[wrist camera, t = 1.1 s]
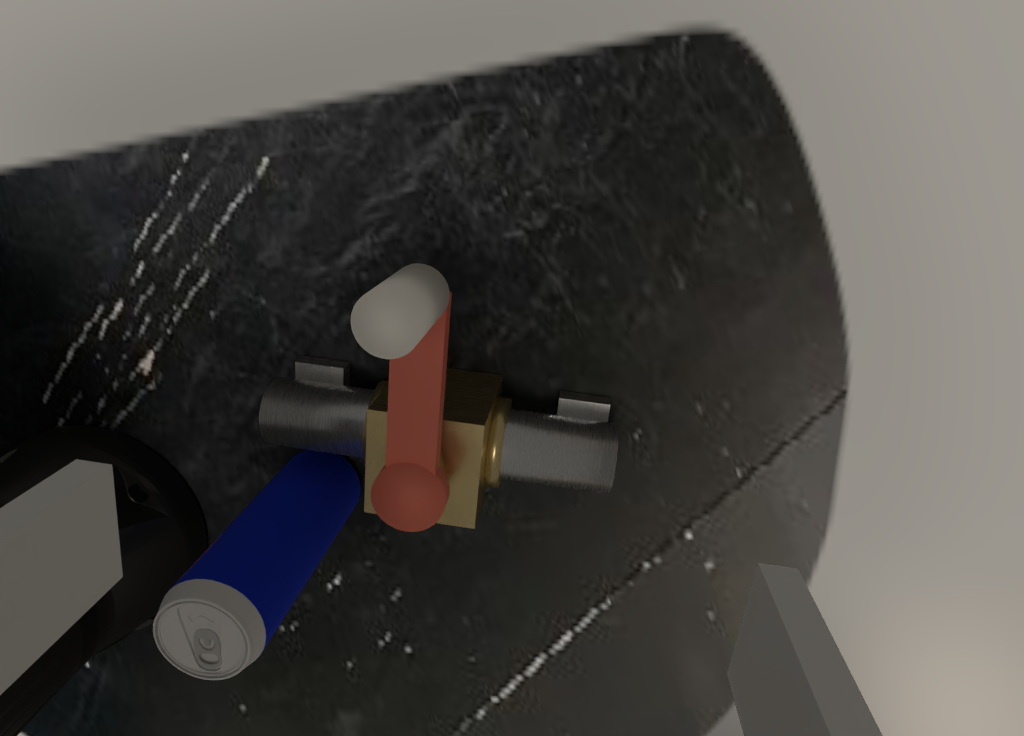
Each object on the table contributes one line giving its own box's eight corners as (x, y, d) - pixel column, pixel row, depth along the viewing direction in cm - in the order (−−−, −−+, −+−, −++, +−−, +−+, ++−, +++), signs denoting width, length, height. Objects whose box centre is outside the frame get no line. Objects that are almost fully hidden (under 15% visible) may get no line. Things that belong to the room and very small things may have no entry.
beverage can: (283, 443, 44) (135, 589, 30) (359, 445, 43) (246, 596, 29) (293, 512, 46) (158, 681, 31) (367, 515, 45) (263, 689, 31)
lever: (447, 523, 34) (417, 602, 28) (376, 512, 34) (333, 588, 28) (467, 264, 29) (437, 295, 24) (386, 254, 29) (337, 283, 24)
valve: (296, 434, 43) (226, 505, 35) (295, 346, 41) (221, 399, 33) (604, 479, 42) (607, 564, 34) (619, 390, 40) (626, 457, 32)
